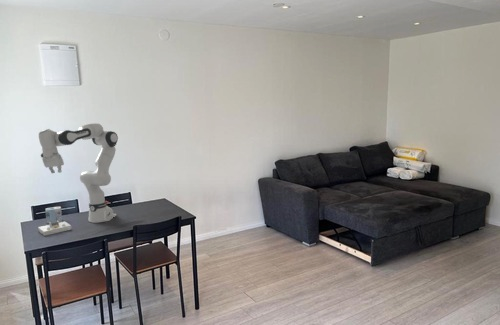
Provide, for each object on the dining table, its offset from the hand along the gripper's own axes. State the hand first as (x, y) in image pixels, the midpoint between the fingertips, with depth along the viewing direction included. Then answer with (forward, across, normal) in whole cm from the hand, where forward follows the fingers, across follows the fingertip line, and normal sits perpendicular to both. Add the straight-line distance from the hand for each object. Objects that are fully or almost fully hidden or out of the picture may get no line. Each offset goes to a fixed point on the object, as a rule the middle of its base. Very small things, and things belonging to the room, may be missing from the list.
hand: (56, 172), depth 248 cm
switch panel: (+41, +17, +4) cm, 45 cm away
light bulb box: (+40, +38, -6) cm, 55 cm away
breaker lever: (+38, +17, +4) cm, 42 cm away
